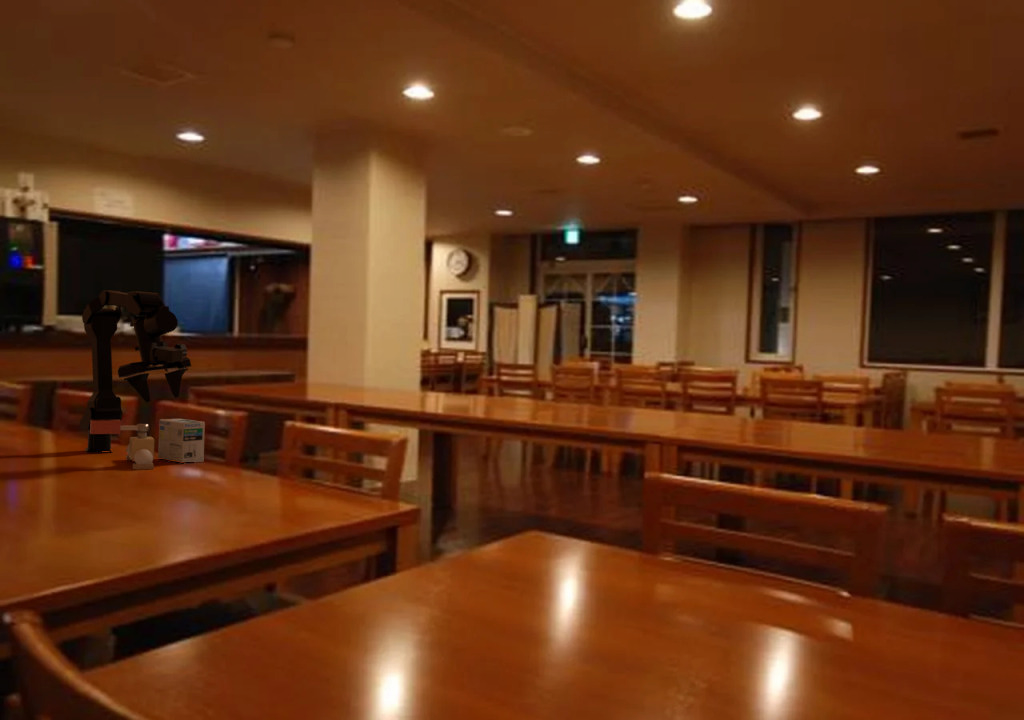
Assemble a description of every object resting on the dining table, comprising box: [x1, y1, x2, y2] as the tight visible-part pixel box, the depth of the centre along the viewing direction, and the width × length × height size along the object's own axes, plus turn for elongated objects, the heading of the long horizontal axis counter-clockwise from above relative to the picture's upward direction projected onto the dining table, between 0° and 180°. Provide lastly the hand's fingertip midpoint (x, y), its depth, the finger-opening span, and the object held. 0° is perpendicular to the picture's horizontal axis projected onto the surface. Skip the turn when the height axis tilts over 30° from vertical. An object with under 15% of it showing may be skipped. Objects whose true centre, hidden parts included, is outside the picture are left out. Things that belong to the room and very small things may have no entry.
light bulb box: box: [157, 418, 206, 463], centre depth 214 cm, size 11×7×11 cm, turn 58°
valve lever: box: [90, 419, 150, 435], centre depth 200 cm, size 3×13×3 cm, turn 122°
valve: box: [125, 431, 155, 470], centre depth 205 cm, size 17×5×8 cm, turn 32°
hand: (162, 399), depth 207 cm, fingers open, 9 cm apart
